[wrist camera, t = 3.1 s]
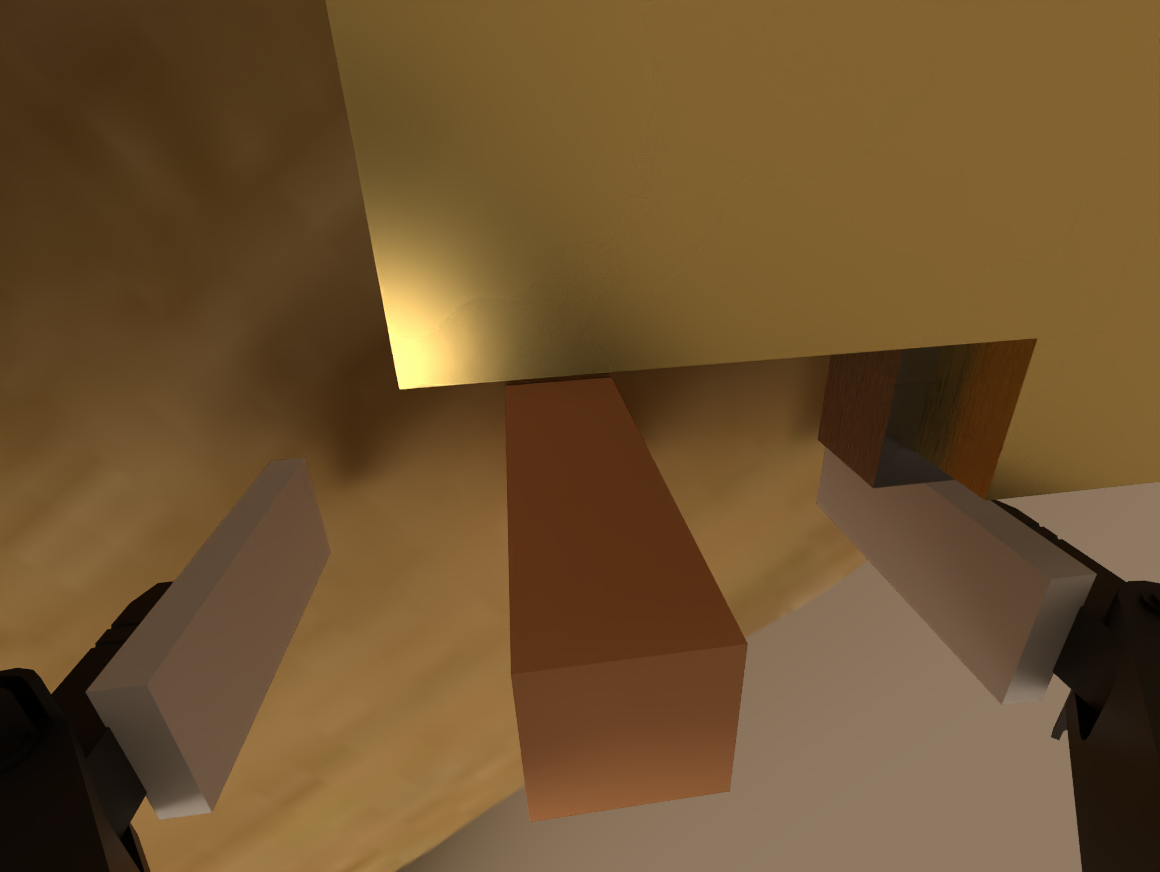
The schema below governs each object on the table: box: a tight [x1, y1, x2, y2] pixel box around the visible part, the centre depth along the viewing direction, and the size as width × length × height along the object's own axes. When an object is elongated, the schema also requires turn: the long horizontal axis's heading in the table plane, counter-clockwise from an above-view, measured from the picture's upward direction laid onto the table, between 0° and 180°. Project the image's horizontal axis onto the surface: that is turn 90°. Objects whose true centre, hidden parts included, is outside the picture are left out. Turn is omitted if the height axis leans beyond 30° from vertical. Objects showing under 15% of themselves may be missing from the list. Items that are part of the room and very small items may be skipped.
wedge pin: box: [505, 377, 748, 822], centre depth 12 cm, size 3×3×10 cm
